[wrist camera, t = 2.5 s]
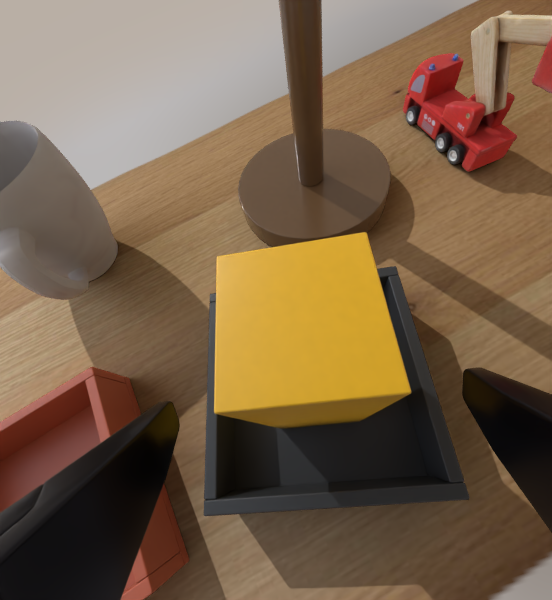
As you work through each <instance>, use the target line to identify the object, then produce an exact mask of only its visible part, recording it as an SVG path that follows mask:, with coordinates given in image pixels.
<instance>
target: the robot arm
mask: <svg viewBox="0 0 552 600" xmlns="http://www.w3.org/2000/svg"><path fill="white" fill-rule="evenodd" d="M462 394H463V398H464V401H465V403H466V404H467V406H468V408H469V409H470V411H471V413H472V415H473V416H474V418H475V420H476V422H477V423H478V425H479V427H480V429H481V430H482V432H483V434H484V436H485V437H486V439H487V441H488V443H489V444H490V446H491V447H492V449H493V451H494V452H495V454H496V455H497V457H498V458H499V459H500V461H501V462H502V464H503V465H504V466H505V468H506V469H507V471H508V472H509V474H510V475H511V476H512V478H513V479H514V481H515V482H516V483H517V485H518V486H519V488H520V489H521V490H522V492H523V493H524V495H525V496H526V497H527V499H528V500H529V502H530V503H531V504H532V506H533V507H534V509H535V510H536V511H537V513H538V514H539V516H540V517H541V518H542V520H543V521H544V523H545V524H546V525H547V527H548V528H549V530H550V531H551V532H552V394H549V393H546V392H544V391H541V390H538V389H536V388H533V387H531V386H528V385H525V384H523V383H520V382H517V381H515V380H512V379H509V378H507V377H504V376H502V375H499V374H496V373H494V372H491V371H488V370H486V369H483V368H470V369H466V370H465V371H464V373H463V390H462ZM178 431H179V419H178V416H177V414H176V411H175V408H174V405H173V403H172V402H170V401H166V402H159V403H157V404H155V405H154V406H153V407H151V408H150V409H148V410H147V411H145V412H144V413H143V414H141V415H140V416H138V417H137V418H135V419H134V420H133V421H131V422H130V423H128V424H127V425H125V426H124V427H123V428H121V429H120V430H118V431H117V432H115V433H114V434H113V435H111V436H110V437H108V438H107V439H105V440H104V441H103V442H101V443H100V444H98V445H97V446H95V447H94V448H93V449H91V450H90V451H88V452H87V453H85V454H84V455H83V456H81V457H80V458H78V459H77V460H75V461H74V462H73V463H71V464H70V465H68V466H67V467H65V468H64V469H63V470H61V471H60V472H58V473H57V474H55V475H54V476H53V477H51V478H50V479H48V480H47V481H45V483H44V484H41V485H40V486H38V487H37V488H35V489H34V490H32V491H31V492H30V493H28V494H27V495H25V496H24V497H22V498H21V499H19V500H18V501H16V502H15V503H14V504H12V505H11V506H9V507H8V508H6V509H5V510H3V511H2V512H0V600H121V597H122V595H123V592H124V589H125V587H126V584H127V581H128V579H129V576H130V573H131V570H132V568H133V565H134V562H135V560H136V557H137V554H138V552H139V549H140V546H141V544H142V541H143V538H144V535H145V533H146V530H147V527H148V525H149V522H150V519H151V517H152V514H153V511H154V509H155V506H156V503H157V500H158V498H159V495H160V492H161V490H162V487H163V484H164V481H165V479H166V476H167V472H168V469H169V465H170V461H171V458H172V454H173V450H174V446H175V443H176V439H177V435H178Z"/></svg>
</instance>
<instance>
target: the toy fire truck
mask: <svg viewBox="0 0 552 600" xmlns="http://www.w3.org/2000/svg"><path fill="white" fill-rule="evenodd" d="M511 43H518V44H529V45H539V46H547V47H546V49H545V51H544V54H543V56H542V58H541V60H540V62H539V64H538V67H537V69H536V72H535V75H534V78H533V79H532V83H533V84H534V85H536V86H539V87H541V88H542V89H544V90H546V91H547V92H549V93H552V16H539V15H513V13H512V11H507V12H505V13H503V14H501V15H499V16H497V17H491V18H489V19H488V20H487V21H485V22H484V23H483V24H481V25H480V26H479V27H477V28H476V29H475V30H473V31H472V33H471V46H472V57H473V71H474V83H475V94H474V95H472V96H471V97H470V98H469V99H468V98H467V97H465V96H464V95H463V94H461V93H460V92H458V91H457V90H455V86H456V83H457V80H458V77H459V73H460V71H461V67H462V65H463V59H461V58H460V57H459V56H458V54H452V53H450V54H442V55H437V56H434V57H431V58H429V59H427V60H425V61H424V62H422V63H421V64H420V65H419V66H418V68H417V69H416V70H415V72H414V73H413V75H412V78H411V80H410V83H409V86H408V92H409V93H407V95H406V98H405V102H404V107H403V111H404V113H405V114H406V119H407V122H408V123H409V124H410V125H413V124H415V123H417V124H418V126H420V127H421V128H422V129H423V130H424V131H425V132H426V133H427V134H428V135H429V136H430V137H431V138H433V139H434V140H436V142H435V146H436V148H437V150H438V151H439V152H444V151H447V150H448V149H449V147H450V149H449V150H448V153H447V158H448V161H449V162H450V163H451V164H458V163H460V162H461V161H463V160H464V161H463V163H462V167H463V168H464V169H465V170H466V171H472V170H474V169H477V168H479V167H482V166H484V165H486V164H489V163H491V162H494V161H496V160H498V159H501V158H503V157H504V156H505V154H506V152H507V151H508V149H509V148H510V146H511V145H512V143H513V141H515V140H516V138H517V135H516V134H514V133H513V132H512V131H510V130H509V129H508V128H507V127H505V126H504V125H502V124H501V123H502V121H503V119H504V117H505V116H506V114H507V112H508V111H509V109H510V107H511V105H512V103H513V101H514V95H513V94H511V93H507V89H508V78H509V65H510V55H511Z"/></svg>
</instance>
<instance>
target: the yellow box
mask: <svg viewBox="0 0 552 600" xmlns="http://www.w3.org/2000/svg"><path fill="white" fill-rule="evenodd" d="M409 394H411V388H410V385H409V381H408V378H407V374H406V370H405V367H404V363H403V360H402V356H401V353H400V349H399V346H398V342H397V338H396V335H395V331H394V328H393V324H392V321H391V317H390V314H389V310H388V307H387V303H386V299H385V296H384V292H383V289H382V285H381V282H380V278H379V275H378V271H377V268H376V264H375V260H374V257H373V253H372V250H371V246H370V243H369V239H368V236H367V233H366V232H363V233H356V234H350V235H344V236H338V237H332V238H326V239H320V240H314V241H308V242H302V243H296V244H290V245H283V246H277V247H271V248H265V249H259V250H253V251H247V252H241V253H235V254H229V255H223V256H218V257H217V270H216V329H215V387H214V413H215V414H219V415H223V416H227V417H232V418H236V419H241V420H245V421H249V422H254V423H258V424H263V425H267V426H272V427H276V428H280V429H285V428H296V427H307V426H317V425H328V424H338V423H349V422H360V421H361V420H363V419H365V418H367V417H369V416H371V415H372V414H374V413H376V412H378V411H380V410H382V409H383V408H385V407H387V406H389V405H391V404H393V403H394V402H396V401H398V400H400V399H402V398H403V397H405V396H407V395H409Z"/></svg>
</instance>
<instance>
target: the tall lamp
mask: <svg viewBox="0 0 552 600" xmlns="http://www.w3.org/2000/svg"><path fill="white" fill-rule="evenodd" d="M279 7H280V16H281V25H282V34H283V44H284V53H285V61H286V71H287V80H288V89H289V98H290V107H291V116H292V125H293V134H289V135H287V136H284V137H281V138H279V139H277V140H275V141H273V142H272V143H270V144H268V145H267V146H265V147H264V148H263V149H261V150H260V151H259V152H258V153H257V154H256V155H255V156H254V157H253V158H252V159H251V160H250V161H249V162H248V164H247V165H246V167H245V169H244V171H243V173H242V175H241V178H240V181H239V188H238V192H239V200H240V204H241V206H242V209H243V212H244V214H245V217H246V220H247V222H248V225H249V226H250V228H251V229H252V231H253V232H254V233H255V234H256V235H257V236H258V237H259V238H260V239H261V240H262V241H264V242H265V243H267V244H269V245H270V246H272V247H277V246H283V245H290V244H296V243H302V242H308V241H314V240H320V239H326V238H332V237H338V236H344V235H350V234H356V233H363V232H366V233H368V232H369V231H370V230H371V229H372V228H373V226H374V225H375V224H376V223H377V221H378V220H379V218H380V217H381V215H382V212H383V210H384V207H385V203H386V199H387V195H388V191H389V186H390V169H389V165H388V163H387V160H386V158H385V157H384V155H383V153H382V152H381V151H380V150H379V149H378V148H377V147H376V146H375V145H374V144H373V143H371V142H370V141H368V140H367V139H365V138H363V137H361V136H359V135H356V134H353V133H350V132H346V131H342V130H335V129H323V83H322V14H321V13H322V12H321V0H279Z"/></svg>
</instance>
